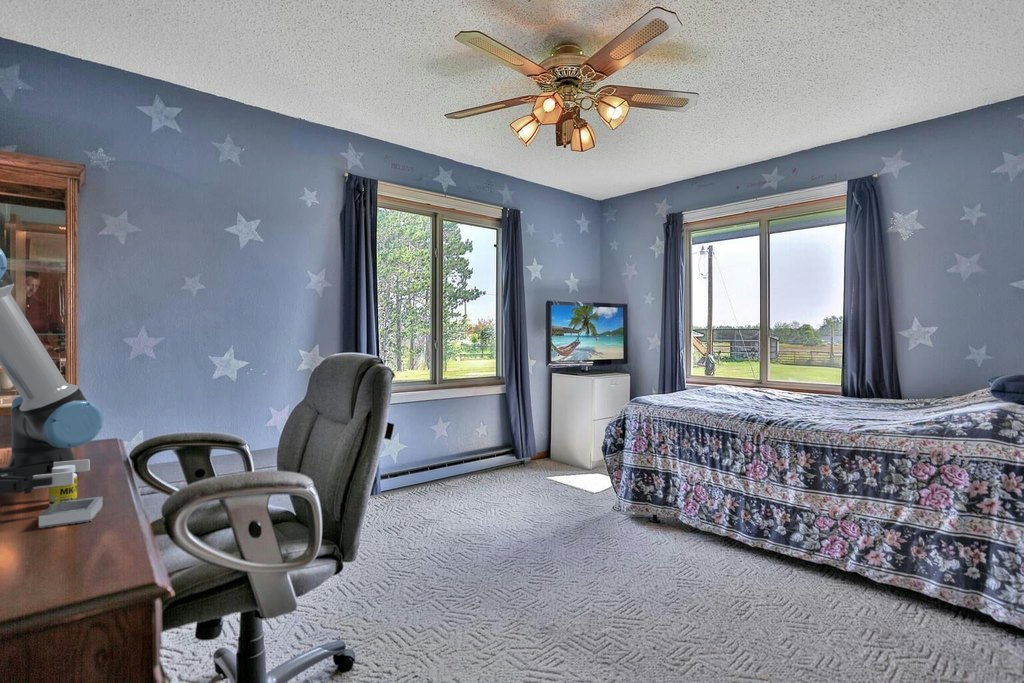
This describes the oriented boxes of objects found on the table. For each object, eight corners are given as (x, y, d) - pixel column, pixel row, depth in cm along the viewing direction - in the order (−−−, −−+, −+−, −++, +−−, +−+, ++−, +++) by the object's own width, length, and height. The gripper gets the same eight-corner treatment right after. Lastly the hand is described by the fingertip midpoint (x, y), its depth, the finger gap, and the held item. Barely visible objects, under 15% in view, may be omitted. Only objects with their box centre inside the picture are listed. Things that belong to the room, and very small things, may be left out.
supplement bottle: (60, 507, 111) (60, 469, 111) (43, 506, 112) (43, 468, 112) (82, 501, 116) (82, 464, 116) (66, 499, 117) (66, 463, 117)
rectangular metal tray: (55, 513, 107) (55, 502, 107) (102, 507, 111) (102, 496, 111) (38, 528, 98) (38, 516, 98) (90, 521, 102) (90, 509, 102)
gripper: (-22, 486, 116) (95, 475, 126) (-83, 520, 94) (65, 502, 104) (-22, 454, 116) (95, 445, 126) (-83, 480, 94) (65, 466, 104)
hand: (81, 471), depth 115 cm, fingers open, 13 cm apart
